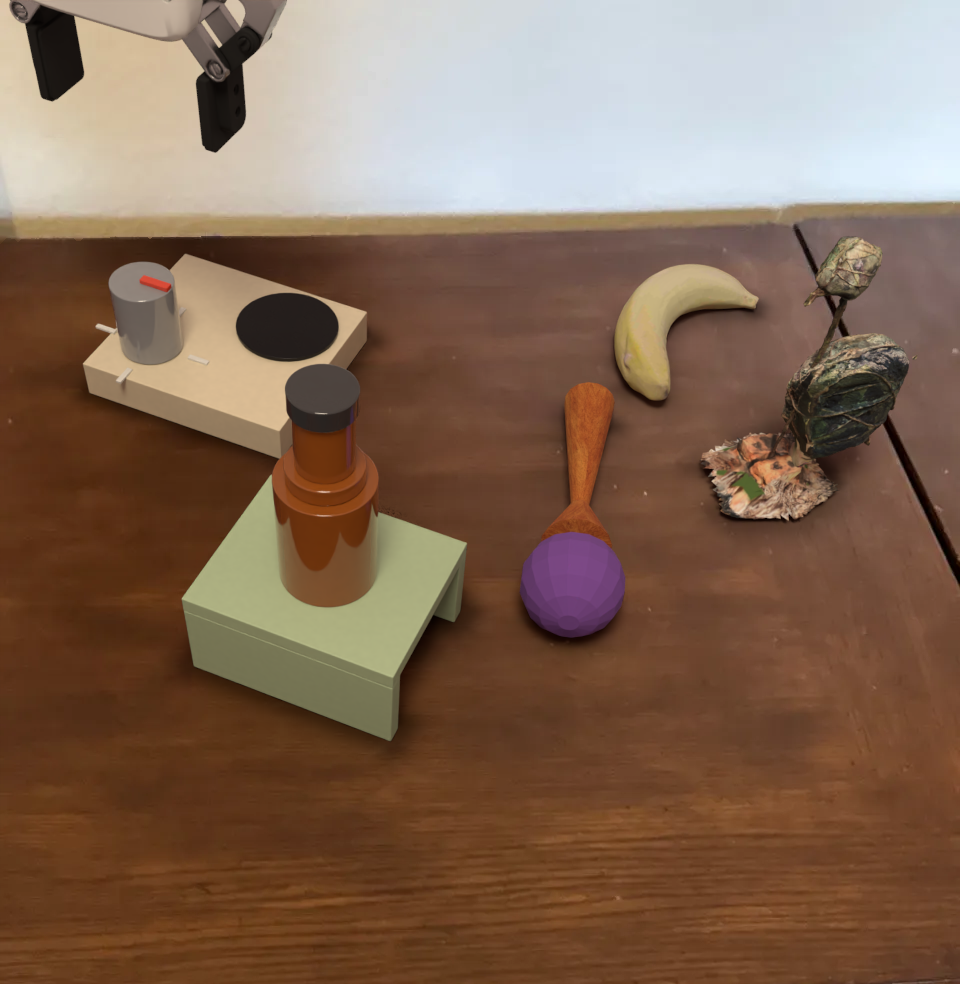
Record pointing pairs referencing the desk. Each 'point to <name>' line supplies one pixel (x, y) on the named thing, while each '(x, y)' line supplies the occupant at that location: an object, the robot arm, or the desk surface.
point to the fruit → (668, 320)
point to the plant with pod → (816, 405)
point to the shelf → (321, 619)
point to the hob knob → (146, 312)
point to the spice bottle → (325, 492)
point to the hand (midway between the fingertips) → (142, 113)
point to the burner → (287, 327)
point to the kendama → (577, 534)
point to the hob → (218, 362)
